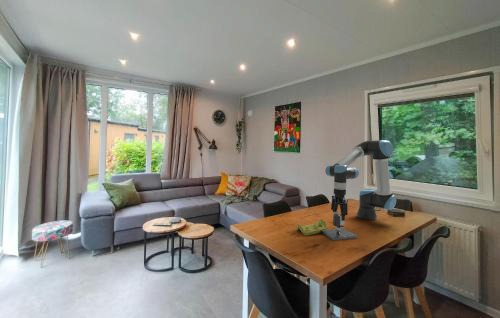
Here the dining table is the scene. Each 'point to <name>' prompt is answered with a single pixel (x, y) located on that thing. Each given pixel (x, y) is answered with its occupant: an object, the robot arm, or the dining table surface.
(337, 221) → the knob
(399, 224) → the dining table surface
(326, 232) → the hub plate
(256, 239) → the dining table surface
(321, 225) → the plastic component
